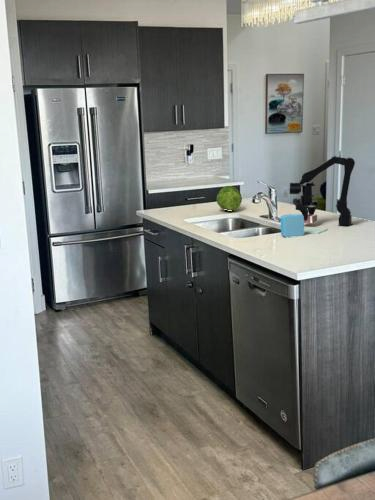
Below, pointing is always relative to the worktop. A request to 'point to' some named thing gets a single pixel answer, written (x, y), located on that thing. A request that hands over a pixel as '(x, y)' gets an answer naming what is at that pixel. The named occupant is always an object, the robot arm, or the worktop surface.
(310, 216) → the card deck
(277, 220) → the worktop surface
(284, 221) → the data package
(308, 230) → the mat
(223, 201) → the lettuce
